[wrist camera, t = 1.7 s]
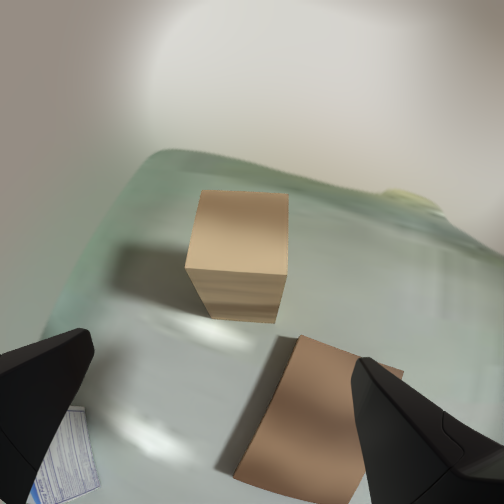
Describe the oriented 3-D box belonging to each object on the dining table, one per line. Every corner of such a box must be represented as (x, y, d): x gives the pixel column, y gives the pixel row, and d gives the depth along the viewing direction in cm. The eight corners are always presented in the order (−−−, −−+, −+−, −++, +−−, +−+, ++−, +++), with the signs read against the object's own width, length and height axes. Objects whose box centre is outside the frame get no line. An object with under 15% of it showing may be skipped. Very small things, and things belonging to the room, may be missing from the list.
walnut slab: (338, 500, 14) (345, 508, 13) (234, 470, 16) (232, 478, 15) (392, 373, 20) (403, 371, 18) (296, 339, 21) (300, 334, 20)
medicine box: (51, 403, 18) (-16, 392, 10) (87, 406, 18) (19, 400, 10) (65, 480, 14) (3, 493, 6) (103, 488, 14) (43, 512, 6)
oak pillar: (274, 323, 22) (287, 274, 13) (211, 318, 22) (184, 267, 14) (277, 266, 24) (288, 194, 16) (219, 262, 24) (201, 189, 16)
